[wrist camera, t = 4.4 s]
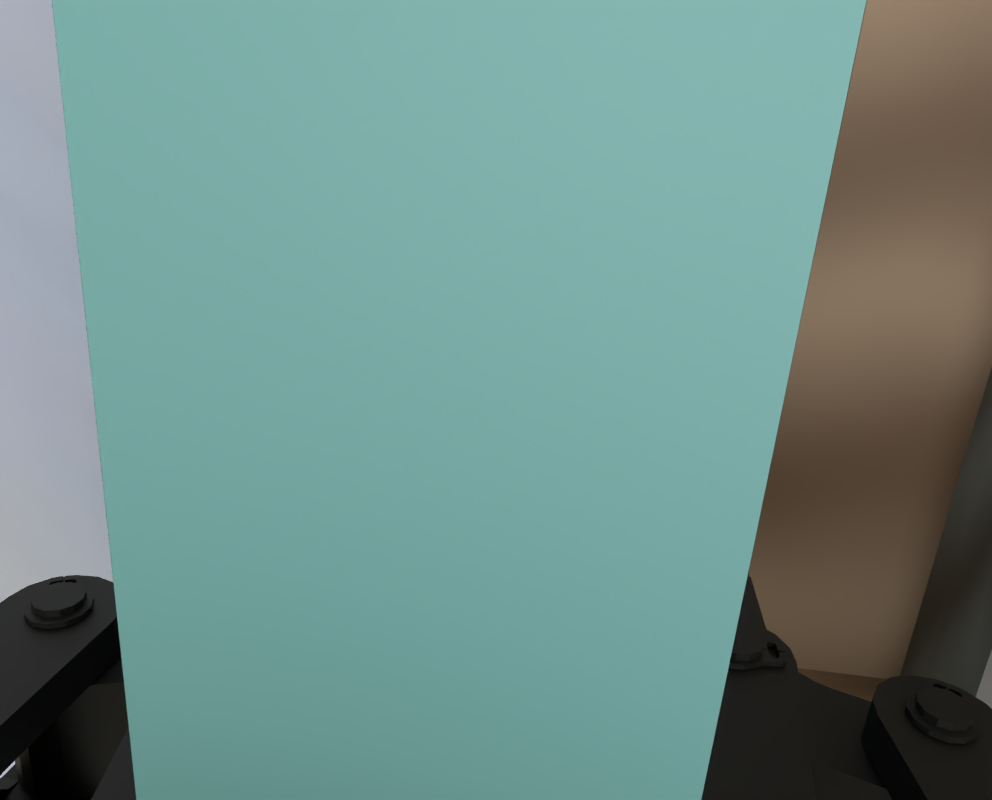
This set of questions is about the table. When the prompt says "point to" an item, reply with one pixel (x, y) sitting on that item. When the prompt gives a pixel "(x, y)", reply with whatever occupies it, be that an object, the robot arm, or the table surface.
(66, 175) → the table surface
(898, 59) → the wooden rack
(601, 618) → the door panel
